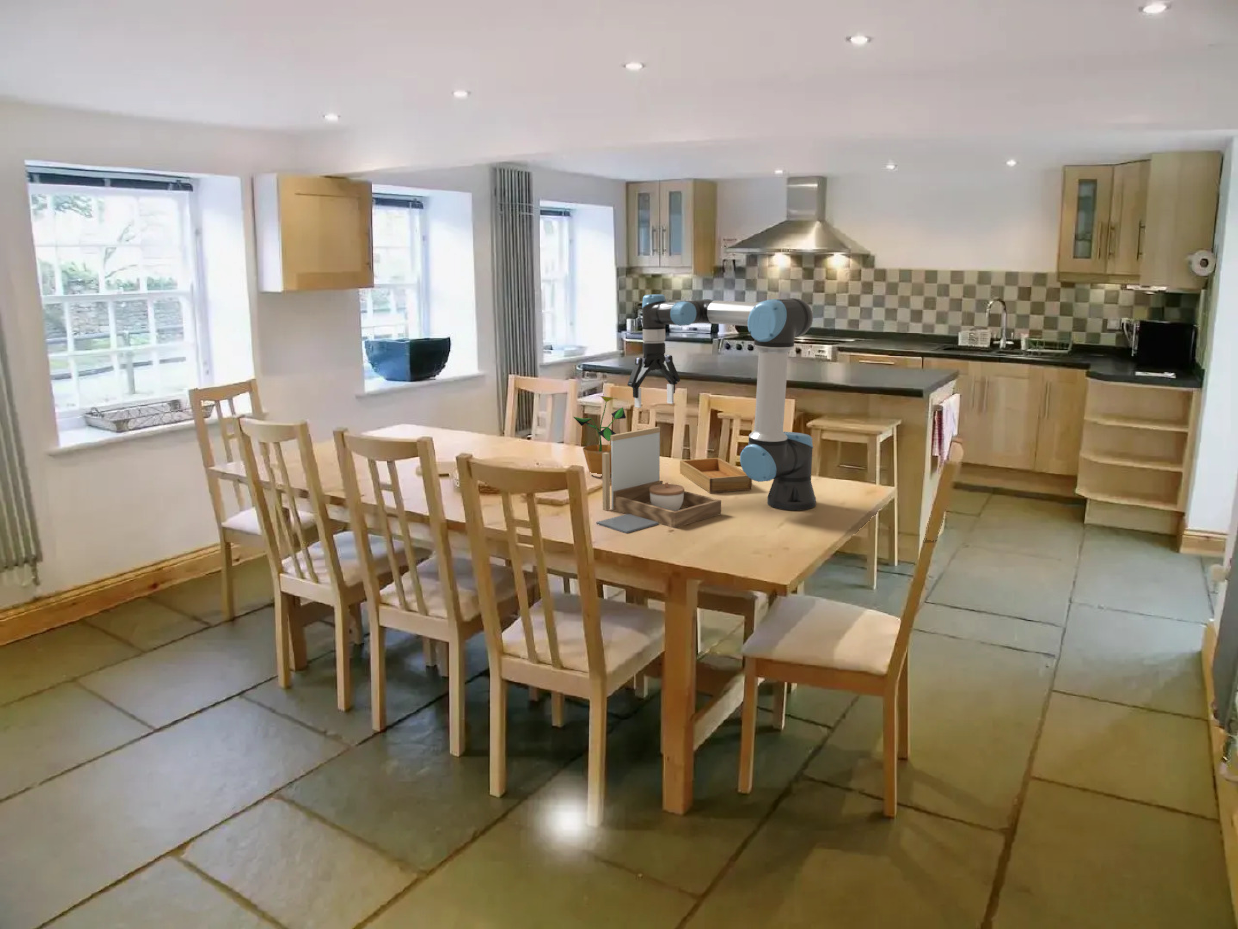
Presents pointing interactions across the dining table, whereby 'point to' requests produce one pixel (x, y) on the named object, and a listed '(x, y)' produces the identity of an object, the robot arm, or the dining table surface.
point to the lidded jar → (667, 496)
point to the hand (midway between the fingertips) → (654, 405)
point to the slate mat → (627, 523)
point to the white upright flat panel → (631, 461)
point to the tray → (715, 475)
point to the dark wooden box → (636, 505)
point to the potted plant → (595, 451)
